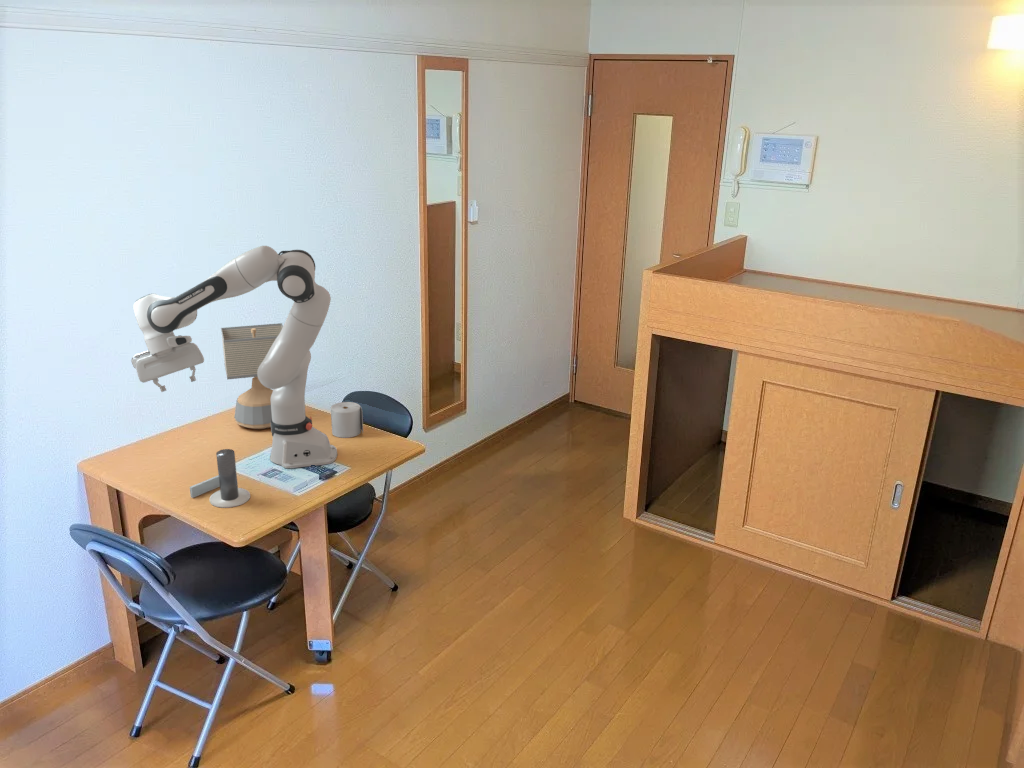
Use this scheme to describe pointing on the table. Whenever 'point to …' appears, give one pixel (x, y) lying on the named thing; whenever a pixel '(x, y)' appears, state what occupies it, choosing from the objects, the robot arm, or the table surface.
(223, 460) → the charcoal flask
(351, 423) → the toilet tissue
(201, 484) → the acrylic wall
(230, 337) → the desk lamp
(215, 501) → the resting pad
